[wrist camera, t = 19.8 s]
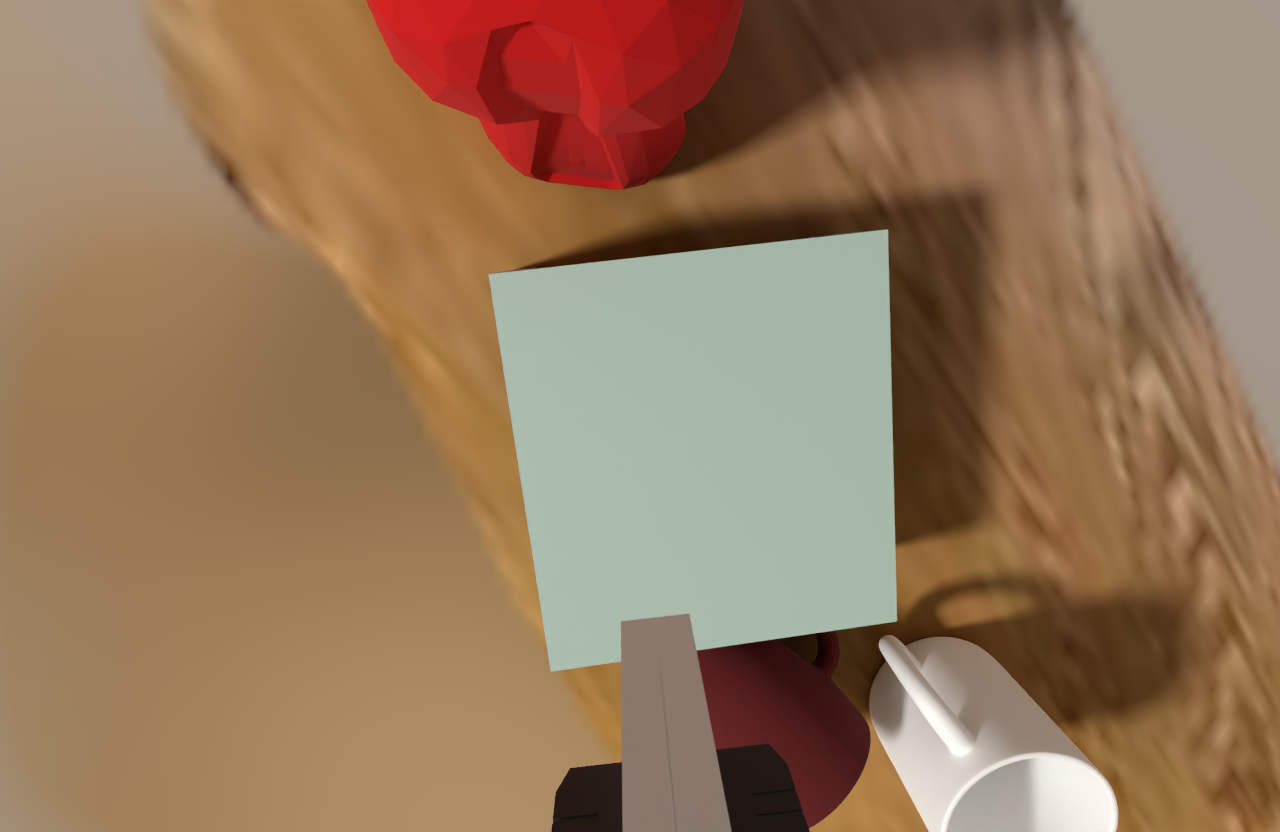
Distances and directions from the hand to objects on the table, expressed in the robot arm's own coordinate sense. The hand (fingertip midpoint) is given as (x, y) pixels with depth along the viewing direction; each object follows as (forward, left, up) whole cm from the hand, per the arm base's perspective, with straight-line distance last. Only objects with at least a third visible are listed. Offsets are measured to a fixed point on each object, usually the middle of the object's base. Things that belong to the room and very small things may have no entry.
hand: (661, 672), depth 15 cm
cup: (+17, +15, -23) cm, 32 cm away
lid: (0, +3, -16) cm, 17 cm away
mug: (+10, +2, -20) cm, 23 cm away
